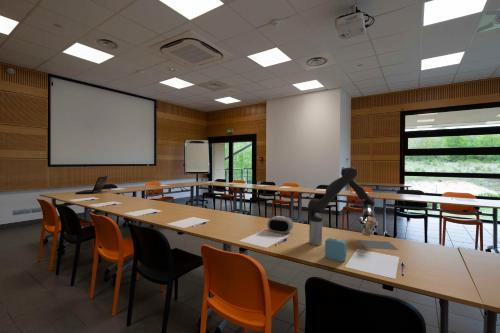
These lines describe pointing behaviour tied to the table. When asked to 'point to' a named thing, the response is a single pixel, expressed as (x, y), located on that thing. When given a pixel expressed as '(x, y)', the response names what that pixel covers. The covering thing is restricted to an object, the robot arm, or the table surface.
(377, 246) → the charcoal mat
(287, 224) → the alarm clock
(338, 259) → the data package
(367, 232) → the maple block
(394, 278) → the table surface
